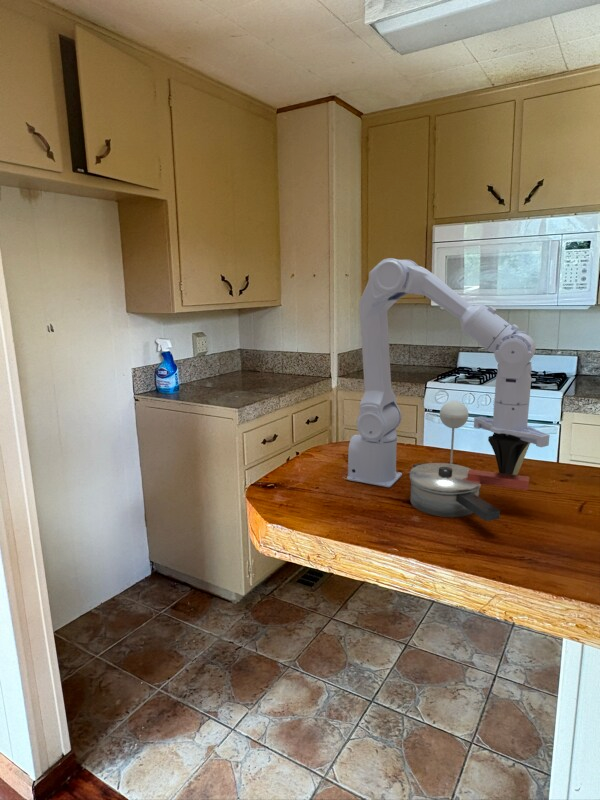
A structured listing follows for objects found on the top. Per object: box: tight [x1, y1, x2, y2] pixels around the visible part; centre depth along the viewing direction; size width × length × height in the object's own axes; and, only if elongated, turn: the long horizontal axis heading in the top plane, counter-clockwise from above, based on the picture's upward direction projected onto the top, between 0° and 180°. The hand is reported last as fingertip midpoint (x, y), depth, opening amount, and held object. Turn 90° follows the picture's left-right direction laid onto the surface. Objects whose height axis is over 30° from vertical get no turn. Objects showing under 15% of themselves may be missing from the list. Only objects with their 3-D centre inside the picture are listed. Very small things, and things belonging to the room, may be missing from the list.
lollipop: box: [439, 400, 470, 464], centre depth 113 cm, size 6×6×15 cm
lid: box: [409, 462, 530, 492], centre depth 94 cm, size 20×13×2 cm, turn 67°
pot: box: [409, 462, 501, 522], centre depth 95 cm, size 18×18×5 cm
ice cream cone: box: [512, 443, 531, 475], centre depth 107 cm, size 5×5×15 cm
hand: (505, 474), depth 96 cm, fingers closed
